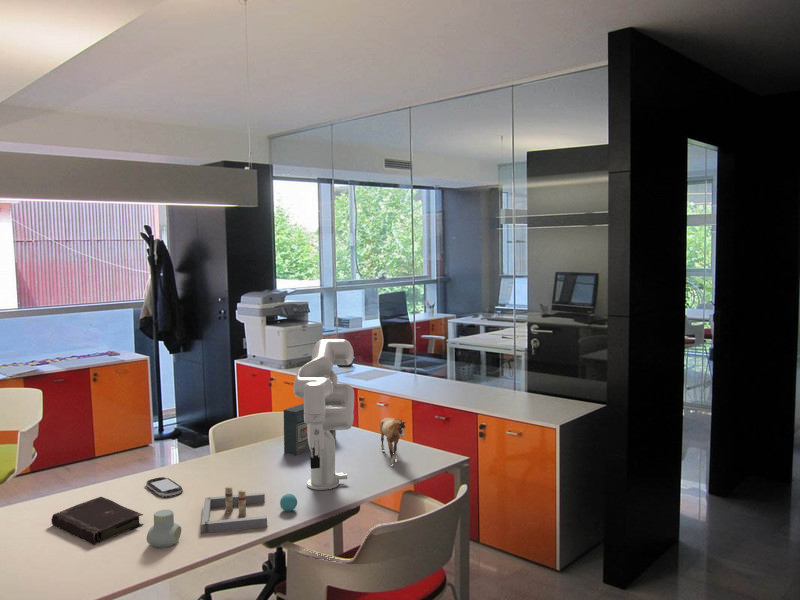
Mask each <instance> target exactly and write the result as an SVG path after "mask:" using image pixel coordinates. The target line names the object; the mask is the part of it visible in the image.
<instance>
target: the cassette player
mask: <svg viewBox="0 0 800 600" xmlns="http://www.w3.org/2000/svg"><path fill="white" fill-rule="evenodd" d="M329 431H330V433H331V434H332V435H333V437H334V439H335V440H336V439H337V438H336V436H337V435H336V433H337V430H329ZM308 451H311V450H310V448H309V445H308V433H307V423H305V422H304V403H300V404H298V405H295V406H291V407H288V408H286V409H283V452H284V454H287V455H291V456H298V455H301V454H303V453H306V452H308Z"/></svg>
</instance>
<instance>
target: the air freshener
mask: <svg viewBox="0 0 800 600" xmlns="http://www.w3.org/2000/svg"><path fill="white" fill-rule="evenodd" d="M174 514H175V513H174V511H173V510H171V509H161V510H158V511H156V512H155V513H154V514H153V525H152V526H151V527H150V528H149V530H148V532H147V535H146V543H148V545H150V546H152V547H154V548H168V547H171V546H173V545H174V544H176V543H177V542H178V541H179V540H180V537H181V535H182V527H181V525H179V524H178V523H176V522H175V519H174V518H175V516H174Z"/></svg>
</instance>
